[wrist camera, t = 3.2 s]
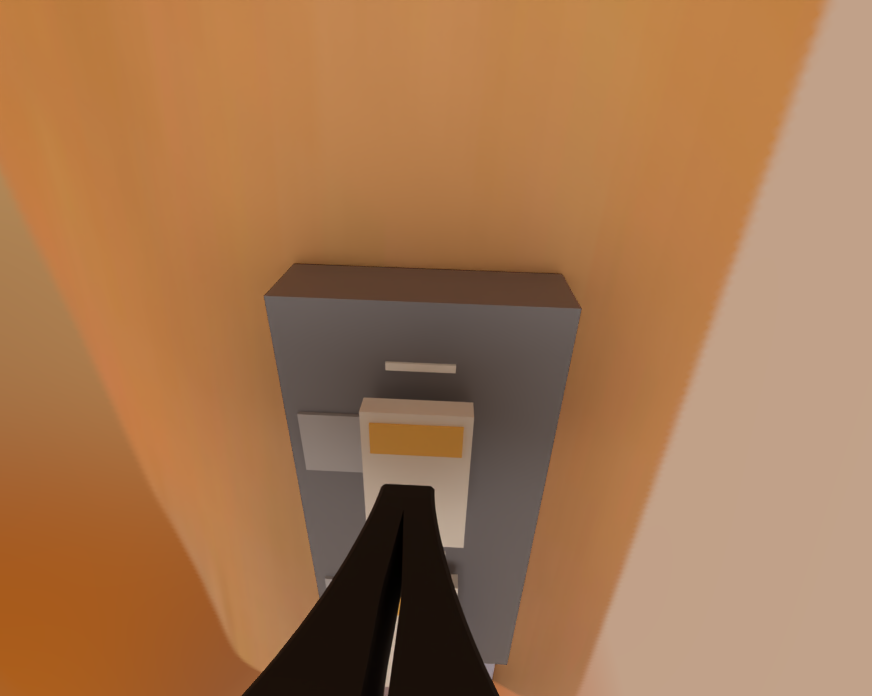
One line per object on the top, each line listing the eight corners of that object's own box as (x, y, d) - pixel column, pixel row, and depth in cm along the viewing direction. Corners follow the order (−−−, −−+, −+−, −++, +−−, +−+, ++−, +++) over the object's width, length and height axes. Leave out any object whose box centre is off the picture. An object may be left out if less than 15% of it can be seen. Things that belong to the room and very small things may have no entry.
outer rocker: (462, 530, 17) (463, 549, 17) (371, 525, 17) (367, 544, 17) (473, 402, 15) (474, 418, 14) (363, 397, 15) (358, 413, 14)
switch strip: (502, 610, 28) (507, 667, 25) (342, 601, 28) (329, 657, 25) (561, 273, 16) (582, 310, 14) (293, 263, 17) (261, 297, 14)
